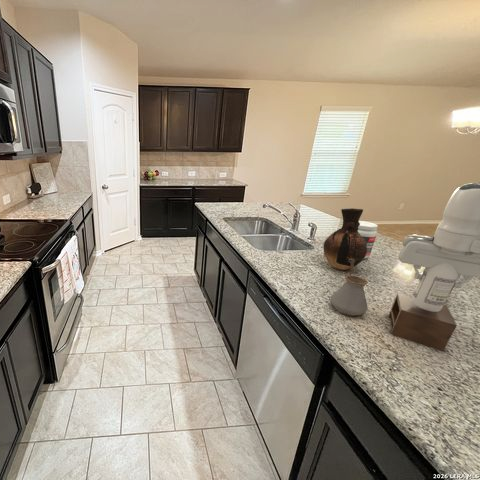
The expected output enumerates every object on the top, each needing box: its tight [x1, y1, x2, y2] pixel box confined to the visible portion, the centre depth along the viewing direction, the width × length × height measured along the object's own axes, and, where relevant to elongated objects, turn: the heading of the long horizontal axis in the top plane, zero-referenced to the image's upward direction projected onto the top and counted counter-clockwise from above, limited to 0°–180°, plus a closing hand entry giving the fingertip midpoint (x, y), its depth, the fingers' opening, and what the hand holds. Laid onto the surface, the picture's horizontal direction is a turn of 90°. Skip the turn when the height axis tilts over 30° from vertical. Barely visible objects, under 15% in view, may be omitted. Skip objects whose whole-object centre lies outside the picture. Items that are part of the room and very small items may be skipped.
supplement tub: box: [358, 220, 379, 260], centre depth 138 cm, size 13×13×18 cm
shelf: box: [387, 292, 458, 352], centre depth 82 cm, size 12×12×10 cm
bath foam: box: [411, 263, 458, 312], centre depth 76 cm, size 7×7×20 cm
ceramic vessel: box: [323, 207, 367, 271], centre depth 122 cm, size 21×18×30 cm
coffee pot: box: [329, 259, 369, 317], centre depth 96 cm, size 21×12×15 cm, turn 150°
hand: (436, 282), depth 77 cm, fingers closed on bath foam, 7 cm apart
